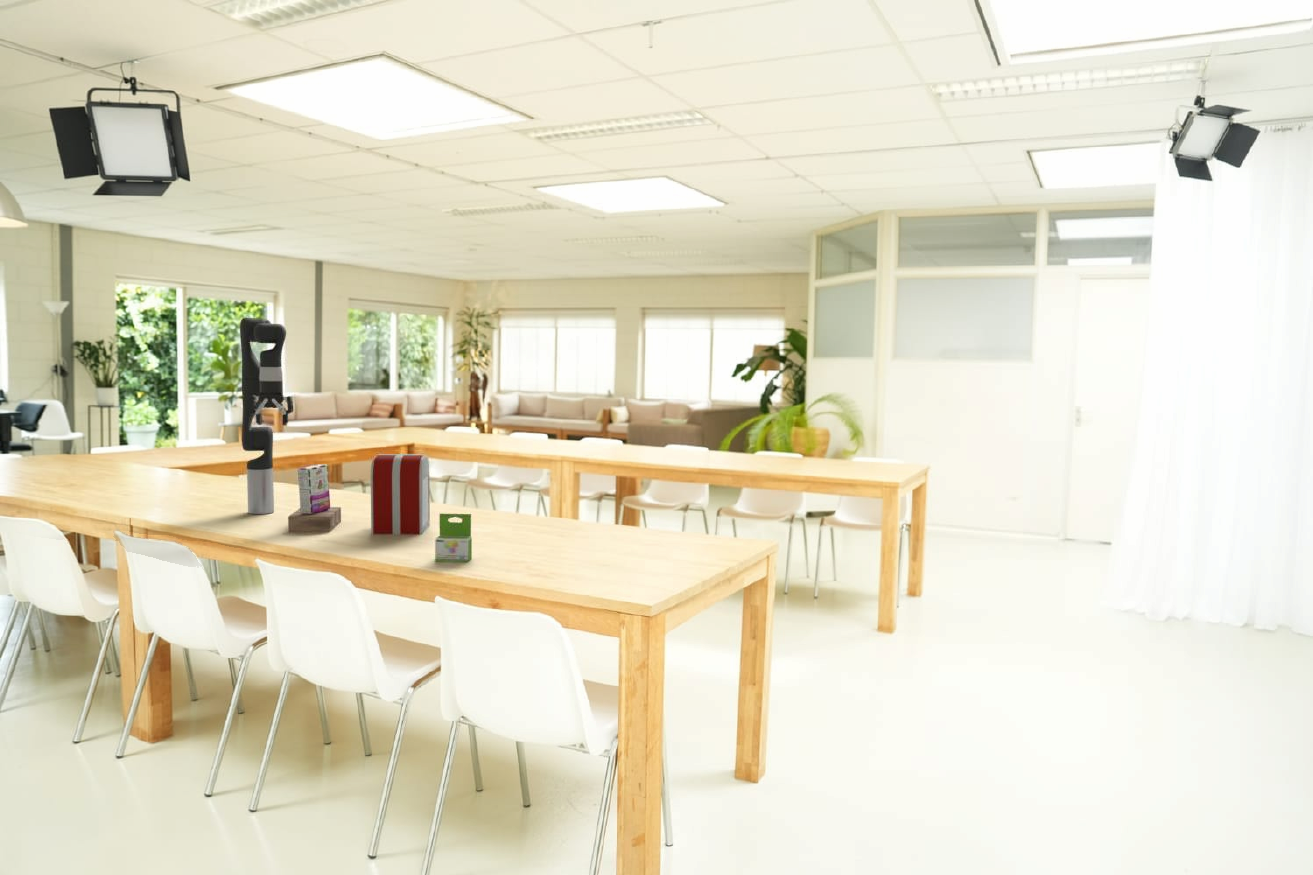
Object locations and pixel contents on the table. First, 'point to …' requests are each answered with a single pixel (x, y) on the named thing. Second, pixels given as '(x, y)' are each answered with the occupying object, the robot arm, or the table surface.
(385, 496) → the red grey rounded block
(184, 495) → the table surface
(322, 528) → the walnut block
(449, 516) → the ink box
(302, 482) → the candy bar box
